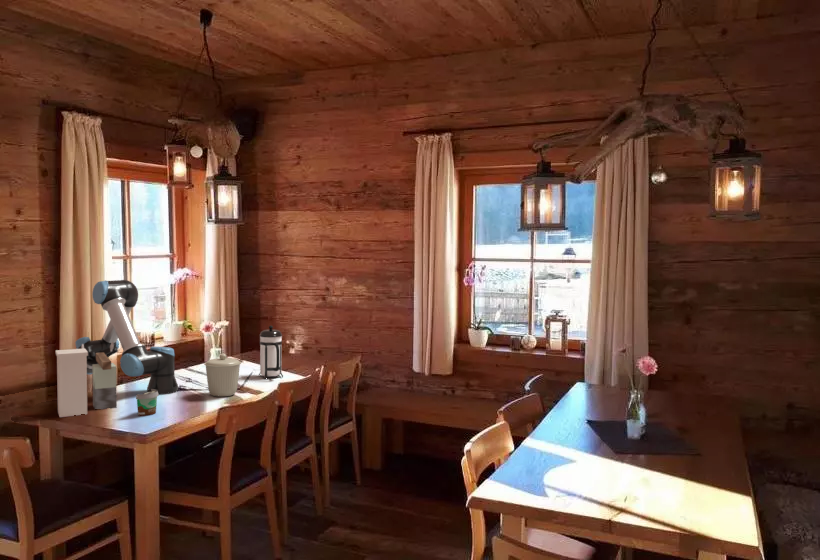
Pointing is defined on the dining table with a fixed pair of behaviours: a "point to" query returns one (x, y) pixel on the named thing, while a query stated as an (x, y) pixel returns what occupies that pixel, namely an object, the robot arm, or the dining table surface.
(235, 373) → the canister
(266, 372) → the coffee press
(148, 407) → the food container
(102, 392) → the tower base block
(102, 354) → the walnut bar
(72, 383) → the tall stand
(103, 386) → the tower top block
